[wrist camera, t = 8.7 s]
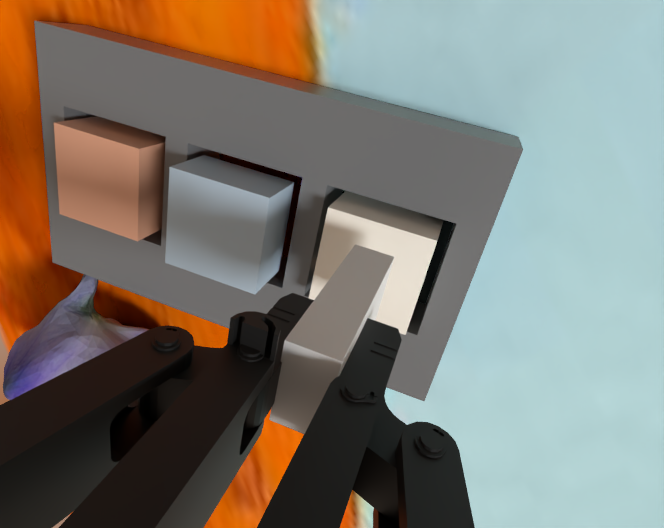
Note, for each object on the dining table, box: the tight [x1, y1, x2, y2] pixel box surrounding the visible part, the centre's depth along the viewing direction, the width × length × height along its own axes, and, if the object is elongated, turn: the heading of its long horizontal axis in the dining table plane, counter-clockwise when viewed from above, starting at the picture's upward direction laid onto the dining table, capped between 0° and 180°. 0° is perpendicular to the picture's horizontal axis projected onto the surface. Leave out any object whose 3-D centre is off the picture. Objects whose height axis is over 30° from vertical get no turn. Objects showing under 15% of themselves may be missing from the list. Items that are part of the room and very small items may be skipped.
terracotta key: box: [54, 116, 166, 241], centre depth 22 cm, size 4×4×3 cm
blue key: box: [165, 155, 295, 294], centre depth 20 cm, size 4×4×3 cm
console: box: [34, 21, 523, 401], centre depth 22 cm, size 12×21×3 cm, turn 78°
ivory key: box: [309, 191, 443, 335], centre depth 20 cm, size 4×4×3 cm
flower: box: [3, 274, 150, 400], centre depth 27 cm, size 9×9×10 cm
